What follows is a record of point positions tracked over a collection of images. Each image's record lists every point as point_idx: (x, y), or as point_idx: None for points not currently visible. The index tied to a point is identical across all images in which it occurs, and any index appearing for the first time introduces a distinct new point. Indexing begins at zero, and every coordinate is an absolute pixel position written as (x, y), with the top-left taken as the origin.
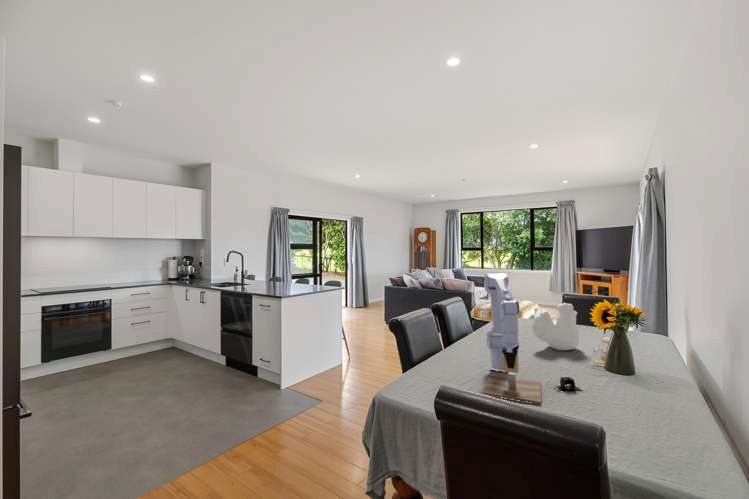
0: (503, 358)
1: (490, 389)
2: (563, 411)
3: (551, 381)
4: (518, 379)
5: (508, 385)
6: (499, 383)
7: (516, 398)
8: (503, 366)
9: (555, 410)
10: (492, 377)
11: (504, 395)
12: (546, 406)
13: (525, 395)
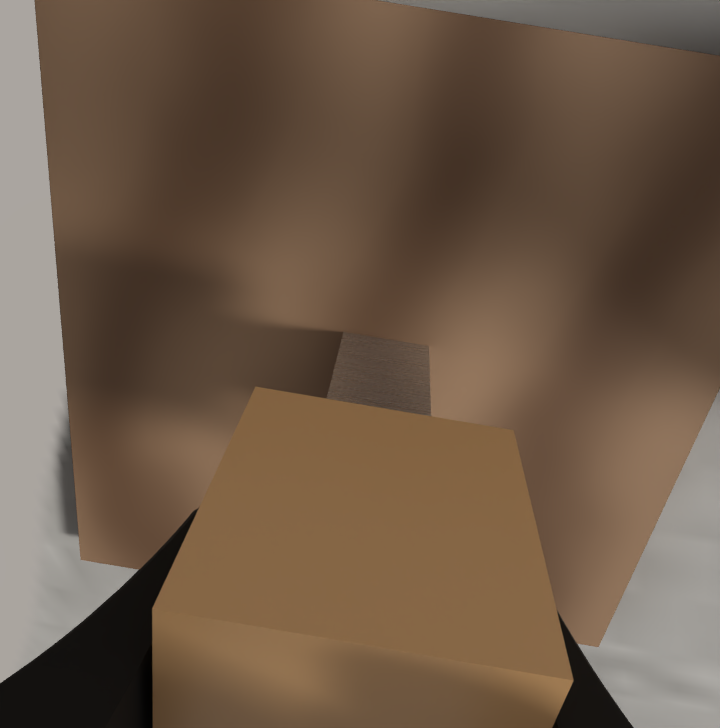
0: (168, 586)
1: (199, 86)
2: (55, 641)
3: (671, 703)
4: (637, 468)
5: (342, 343)
6: (463, 229)
7: (70, 377)
8: (229, 445)
9: (45, 603)
10: (714, 135)
11: (74, 263)
12: (89, 566)
13: (167, 468)
